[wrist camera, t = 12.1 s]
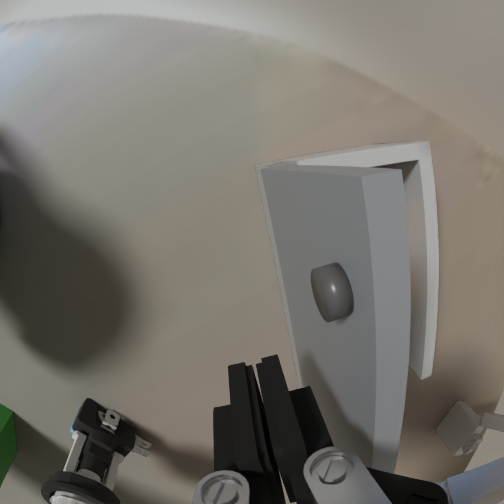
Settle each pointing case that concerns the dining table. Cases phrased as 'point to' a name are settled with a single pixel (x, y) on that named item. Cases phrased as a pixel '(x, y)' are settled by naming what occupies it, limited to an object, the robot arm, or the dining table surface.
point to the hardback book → (6, 441)
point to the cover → (347, 296)
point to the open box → (419, 231)
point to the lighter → (466, 428)
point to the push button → (93, 458)
